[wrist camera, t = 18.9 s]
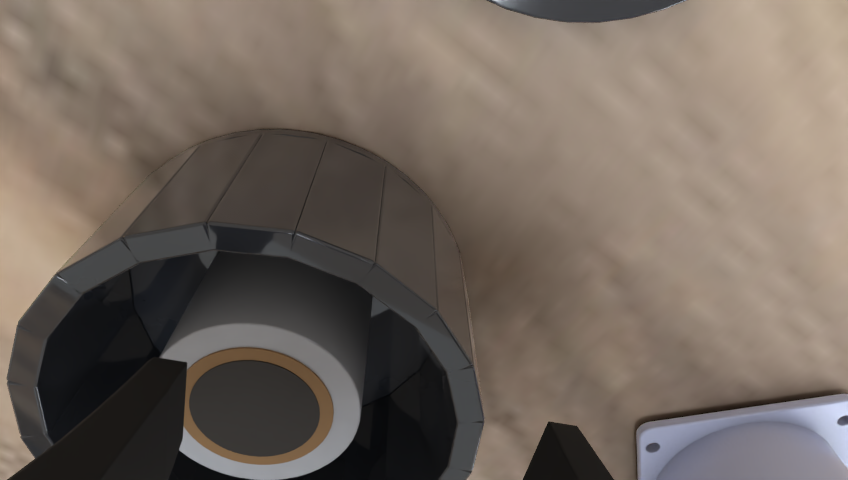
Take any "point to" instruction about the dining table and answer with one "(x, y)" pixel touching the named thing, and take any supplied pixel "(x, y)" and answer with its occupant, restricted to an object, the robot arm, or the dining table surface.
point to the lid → (585, 9)
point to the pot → (277, 237)
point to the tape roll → (271, 366)
